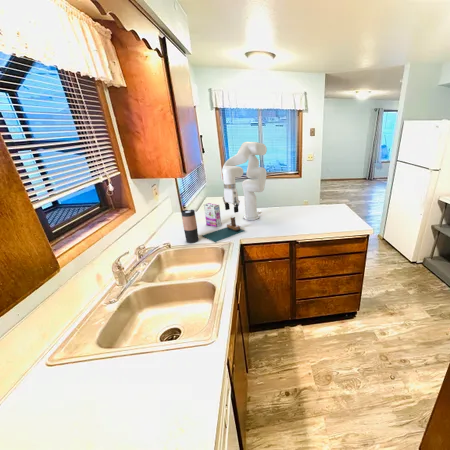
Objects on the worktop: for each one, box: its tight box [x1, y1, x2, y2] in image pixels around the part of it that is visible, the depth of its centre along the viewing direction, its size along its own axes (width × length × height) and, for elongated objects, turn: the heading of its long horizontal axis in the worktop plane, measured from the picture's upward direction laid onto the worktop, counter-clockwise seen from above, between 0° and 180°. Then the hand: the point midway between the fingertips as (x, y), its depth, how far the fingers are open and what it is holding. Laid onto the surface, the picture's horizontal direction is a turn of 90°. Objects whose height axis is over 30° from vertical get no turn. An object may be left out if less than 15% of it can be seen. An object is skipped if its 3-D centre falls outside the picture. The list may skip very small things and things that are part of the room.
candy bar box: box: [203, 202, 222, 228], centre depth 177 cm, size 11×5×16 cm, turn 62°
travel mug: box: [180, 209, 199, 244], centre depth 150 cm, size 8×8×20 cm
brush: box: [226, 216, 241, 232], centre depth 169 cm, size 4×10×10 cm, turn 52°
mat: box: [201, 227, 246, 243], centre depth 164 cm, size 24×16×1 cm, turn 142°
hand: (231, 210), depth 165 cm, fingers open, 9 cm apart
